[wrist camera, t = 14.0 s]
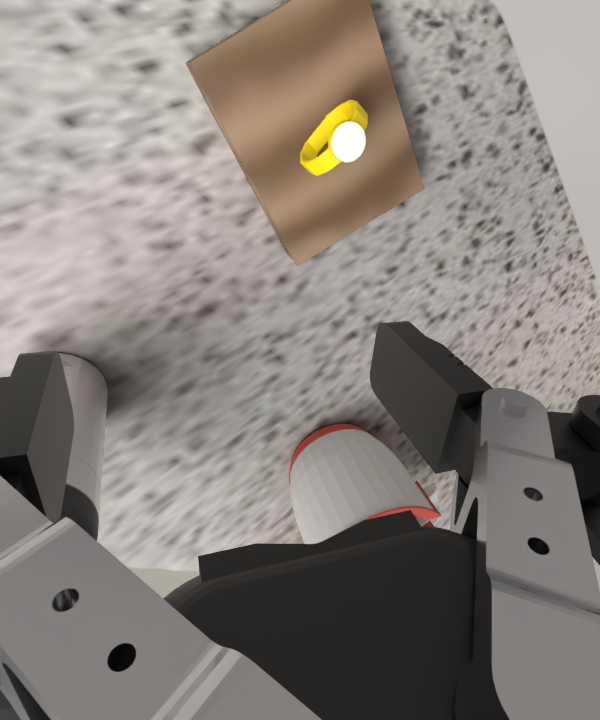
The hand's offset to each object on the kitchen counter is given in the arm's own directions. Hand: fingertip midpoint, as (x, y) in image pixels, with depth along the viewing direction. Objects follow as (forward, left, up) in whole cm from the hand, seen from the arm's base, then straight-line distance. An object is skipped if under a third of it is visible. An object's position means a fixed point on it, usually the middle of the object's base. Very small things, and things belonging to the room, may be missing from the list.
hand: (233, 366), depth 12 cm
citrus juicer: (-37, -20, -34) cm, 54 cm away
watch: (+3, -13, -30) cm, 33 cm away
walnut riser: (+3, -13, -34) cm, 37 cm away
